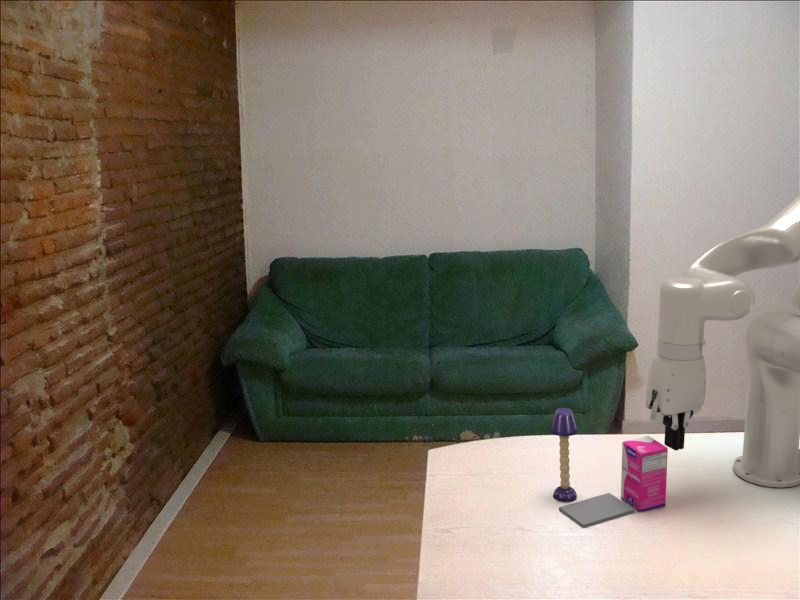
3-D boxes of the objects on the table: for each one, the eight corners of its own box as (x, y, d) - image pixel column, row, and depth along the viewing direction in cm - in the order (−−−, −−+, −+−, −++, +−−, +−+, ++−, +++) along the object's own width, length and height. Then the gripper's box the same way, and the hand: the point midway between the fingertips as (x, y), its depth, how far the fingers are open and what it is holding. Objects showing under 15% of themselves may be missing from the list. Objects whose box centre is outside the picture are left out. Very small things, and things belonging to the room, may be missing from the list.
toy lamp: (547, 499, 157) (548, 413, 153) (554, 488, 162) (555, 404, 157) (573, 504, 156) (575, 417, 151) (579, 492, 160) (581, 407, 155)
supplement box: (619, 499, 157) (621, 440, 154) (646, 492, 159) (649, 434, 156) (638, 513, 152) (641, 453, 149) (667, 506, 153) (669, 446, 151)
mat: (609, 495, 158) (609, 492, 158) (634, 512, 152) (635, 509, 152) (559, 510, 154) (559, 507, 153) (583, 528, 147) (583, 524, 147)
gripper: (696, 337, 157) (690, 431, 162) (631, 350, 151) (626, 447, 156) (728, 348, 151) (721, 446, 155) (661, 362, 144) (655, 463, 149)
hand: (673, 446), depth 155 cm, fingers closed
